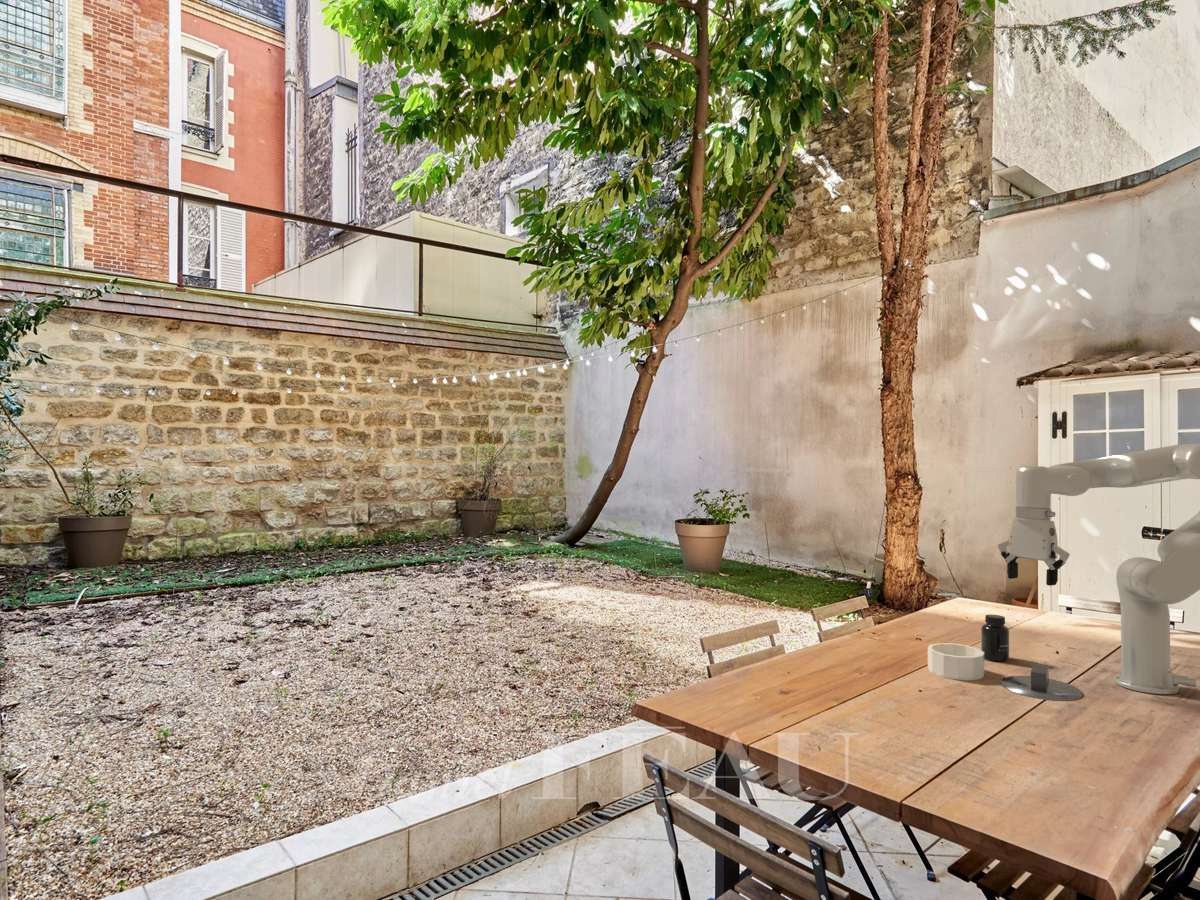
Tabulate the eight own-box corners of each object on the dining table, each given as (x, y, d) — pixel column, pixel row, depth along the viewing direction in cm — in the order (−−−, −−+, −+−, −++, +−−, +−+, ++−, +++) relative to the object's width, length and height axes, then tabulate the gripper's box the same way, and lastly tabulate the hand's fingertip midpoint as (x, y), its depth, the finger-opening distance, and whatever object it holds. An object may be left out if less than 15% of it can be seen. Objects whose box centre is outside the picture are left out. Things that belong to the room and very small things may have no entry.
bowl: (987, 670, 183) (986, 648, 183) (980, 684, 173) (979, 660, 173) (933, 662, 191) (933, 640, 191) (924, 674, 181) (923, 652, 181)
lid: (1083, 687, 171) (1082, 665, 171) (1081, 708, 157) (1080, 684, 157) (1004, 674, 181) (1004, 654, 181) (996, 693, 167) (995, 671, 167)
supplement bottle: (1007, 664, 188) (1007, 620, 188) (979, 659, 193) (979, 616, 193) (1011, 657, 194) (1010, 615, 194) (983, 653, 198) (983, 612, 198)
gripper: (1077, 517, 169) (1076, 586, 169) (1008, 511, 184) (1007, 574, 184) (1059, 518, 166) (1058, 589, 166) (990, 511, 181) (989, 576, 181)
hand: (1031, 581), depth 175 cm, fingers open, 9 cm apart
